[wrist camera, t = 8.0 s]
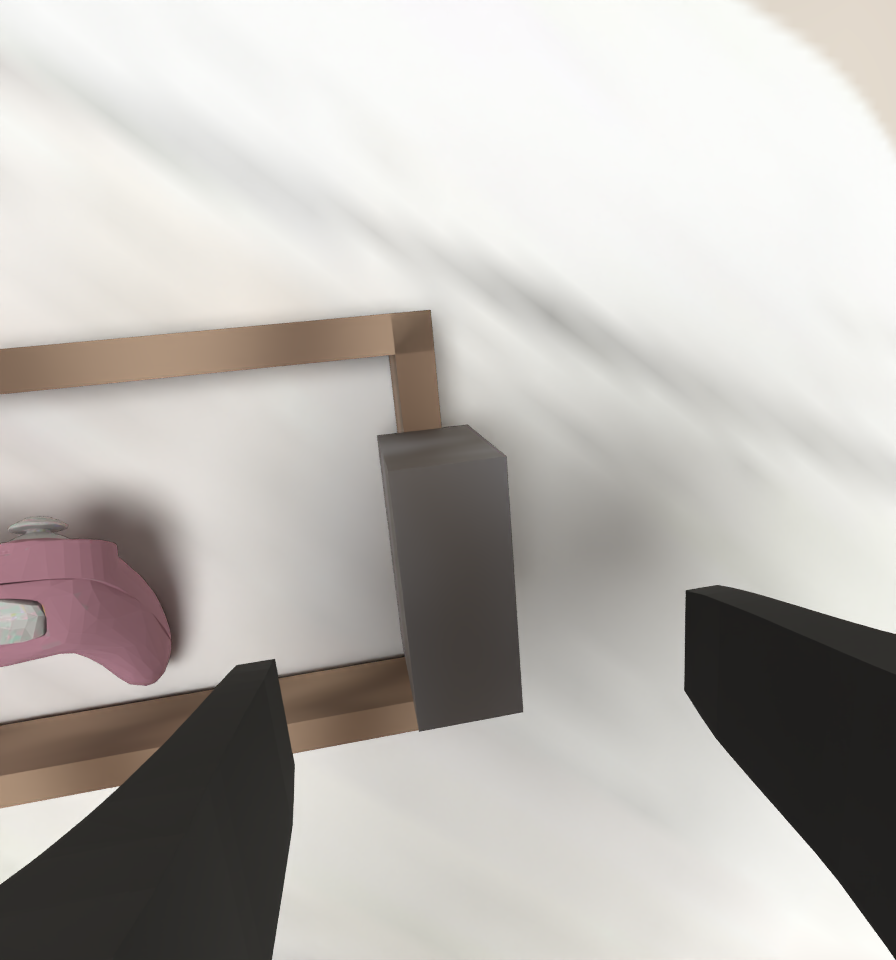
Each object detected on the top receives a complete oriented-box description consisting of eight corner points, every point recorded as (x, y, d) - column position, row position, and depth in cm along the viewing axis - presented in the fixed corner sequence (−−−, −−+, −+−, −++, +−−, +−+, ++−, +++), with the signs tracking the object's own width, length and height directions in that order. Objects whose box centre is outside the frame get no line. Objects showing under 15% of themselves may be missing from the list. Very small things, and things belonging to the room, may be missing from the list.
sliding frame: (442, 309, 18) (496, 302, 11) (474, 671, 21) (530, 819, 15) (-353, 382, 15) (-848, 424, 9) (-177, 785, 18) (-449, 1027, 12)
